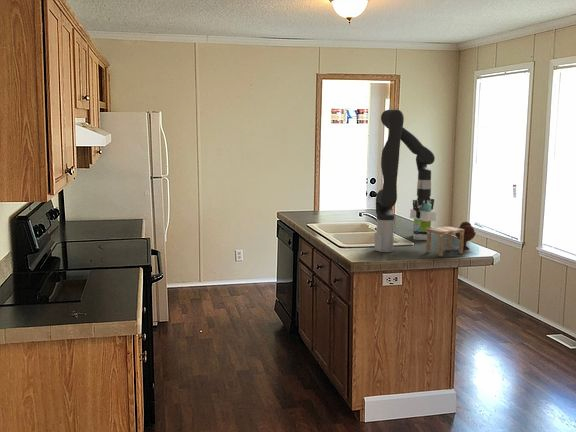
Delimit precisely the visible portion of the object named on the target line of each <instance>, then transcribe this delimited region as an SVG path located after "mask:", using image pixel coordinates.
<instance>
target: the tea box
mask: <svg viewBox="0 0 576 432" xmlns="http://www.w3.org/2000/svg"><path fill="white" fill-rule="evenodd" d="M412 228H413V230H412V235H413V236H412V238H413V240H417V241H427V229H428V228H432V221H423V220H418V219H413V227H412Z"/></svg>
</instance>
